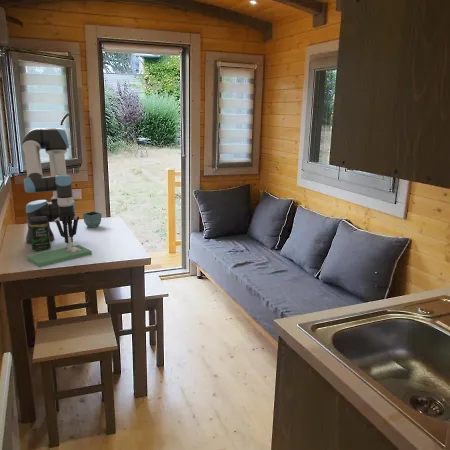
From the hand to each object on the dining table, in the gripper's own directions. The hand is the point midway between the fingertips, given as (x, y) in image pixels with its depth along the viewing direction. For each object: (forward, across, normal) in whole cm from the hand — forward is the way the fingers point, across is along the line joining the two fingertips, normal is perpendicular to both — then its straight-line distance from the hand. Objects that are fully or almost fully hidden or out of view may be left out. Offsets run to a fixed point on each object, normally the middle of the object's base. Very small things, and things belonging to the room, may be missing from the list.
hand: (69, 248), depth 226 cm
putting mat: (+3, -6, 0) cm, 6 cm away
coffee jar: (+4, -8, +19) cm, 21 cm away
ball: (+2, +3, +1) cm, 3 cm away
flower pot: (+4, +36, +43) cm, 56 cm away
